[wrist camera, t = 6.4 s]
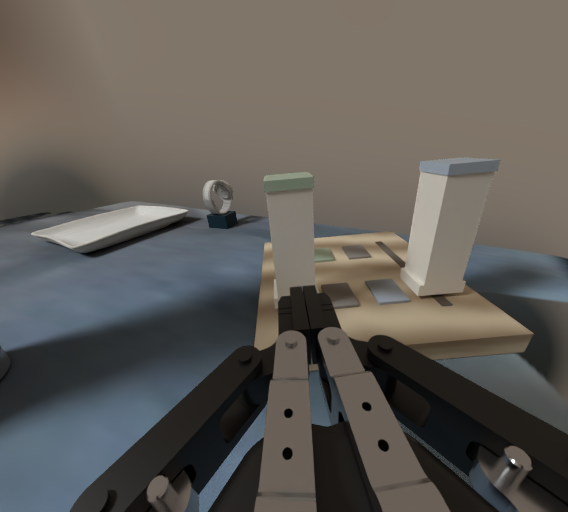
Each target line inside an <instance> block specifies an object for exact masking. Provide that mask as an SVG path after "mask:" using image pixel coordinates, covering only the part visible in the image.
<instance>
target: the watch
mask: <svg viewBox="0 0 568 512" xmlns="http://www.w3.org/2000/svg"><path fill="white" fill-rule="evenodd" d="M212 187H213V191H215V193H216V194H217V195H218V196H220V197H221V199H222V200H224V203H223V207H222V209H221V210H220V211H219V209H218V208H217V207H216V205H215V203H214V201H213V200H212V199H211V195H209V194H211V191H210V190H211V189H212ZM203 194H204V195H203V199H204V203H205V205H206V207H207V208H208V210H209V211H210V212H211V214H209V215H207V219H208V223H209V227H210V228H223V229H228V228H230V227H232V226H233V225H235V224H237V218H236V212H235V211H229V209H230V207H231V203H232V199H233V195H232V194H233V189H232V187H231V186H230V185H229V184H228V183H227V182H225V181H222V180H211V181H208V182H207V183H206V184H205V185H204V188H203Z"/></svg>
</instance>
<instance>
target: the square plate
mask: <svg viewBox="0 0 568 512" xmlns="http://www.w3.org/2000/svg"><path fill="white" fill-rule="evenodd" d="M188 212H189V210H185V209H177V208H169V207H159V206H135V207H130V208H126V209H121V210H117V211H112V212H107V213H103V214H99V215H95V216H91V217H87V218H83V219H79V220H75V221H72V222H68V223H65V224H61V225H58V226H54V227H50V228H47V229H43V230H39V231H36V232H33V233H31V234H32V235H33V236H37V237H39V238H41V239H43V240H46V241H49V242H53V243H56V244H59V245H62V246H65V247H67V248H69V249H71V250H74V251H76V252H80V253H88V252H92V251H95V250H98V249H102V248H106V247H109V246H112V245H115V244H118V243H121V242H124V241H127V240H129V239H132V238H135V237H138V236H141V235H144V234H147V233H149V232H152V231H155V230H158V229H161V228H164V227H166V226H168V225H170V224H172V223H175V222H177V221H179V220H181V219H182V218H184V217H185V216H186V214H187V213H188Z"/></svg>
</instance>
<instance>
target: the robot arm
mask: <svg viewBox="0 0 568 512" xmlns="http://www.w3.org/2000/svg"><path fill="white" fill-rule="evenodd" d="M302 289H303V290H302ZM311 358H312V364H318V369H319V381H320V385H321V388H322V392H323V396H324V399H325V403H326V407H327V410H328V414H329V418H330V423H331V426H329V427H325V426H320V425H315V424H311V411H310V395H309V379H308V378H309V365H311ZM10 362H11V361H10V358H9V356H8V355H7V354H6V353H5V352H4V350H3V349H2V348H1V346H0V380H1V378H2V377H3V376H4V375H5V373H6V372H7V370H8V369H9V366H10ZM267 401H268V404H267ZM266 404H267V414H266V423H265V433H264V438H262V439H261V440H260V441H258V442H257V443H256V444H255V445H254V446H253V447H252V448H251V449H250V450H249V451H248V452H247V453H246V455H245V456H244V458H243V459H242V461H241V462H240V464H239V465H238V467H237V468H236V470H235V471H234V473H233V474H232V476H231V477H230V479H229V480H228V482H227V483H226V485H225V486H224V488H223V489H222V491H221V492H220V494H219V495H218V497H217V499H216V500H215V502H214V503H213V505H212V506H211V508H210V509H209V511H208V512H568V435H567V434H566V433H564V432H562V431H560V430H558V429H557V428H555V427H553V426H551V425H549V424H548V423H546V422H544V421H542V420H540V419H538V418H537V417H535V416H533V415H531V414H529V413H528V412H526V411H524V410H522V409H520V408H519V407H517V406H515V405H513V404H511V403H510V402H508V401H506V400H504V399H502V398H500V397H499V396H497V395H495V394H493V393H491V392H490V391H488V390H486V389H484V388H482V387H481V386H479V385H477V384H475V383H473V382H471V381H470V380H468V379H466V378H464V377H462V376H461V375H459V374H457V373H455V372H453V371H452V370H450V369H448V368H446V367H444V366H442V365H441V364H439V363H437V362H435V361H433V360H432V359H430V358H428V357H426V356H424V355H423V354H421V353H419V352H417V351H415V350H413V349H412V348H410V347H408V346H406V345H404V344H403V343H401V342H399V341H397V340H395V339H394V338H392V337H389V336H386V335H375V336H373V337H371V338H370V339H369V341H368V342H366V341H360V340H355V339H353V338H350V337H349V336H348V335H347V334H346V333H345V332H344V331H343V330H342V329H341V326H340V323H339V321H338V318H337V315H336V312H335V310H334V307H333V305H332V301H331V299H330V297H329V296H328V295H327V294H326V293H317V291H316V287H315V285H308V286H297V287H290V296H281V298H280V300H279V301H278V338H277V340H276V342H275V343H274V344H273V345H272V346H270V347H268V348H266V349H263V350H260V351H259V350H258V349H257V348H256V347H254V346H243V347H240V348H238V349H237V350H235V351H234V352H233V353H232V354H231V355H230V356H229V357H228V358H227V359H226V360H224V361H223V362H222V363H221V364H220V365H219V366H218V367H217V368H216V369H215V370H214V371H213V372H212V373H210V374H209V375H208V376H207V377H206V378H205V379H204V380H203V381H202V382H201V383H200V384H199V385H198V386H196V387H195V388H194V389H193V390H192V391H191V392H190V393H189V394H188V395H187V396H186V397H185V398H184V399H182V400H181V401H180V402H179V403H178V404H177V405H176V406H175V407H174V408H173V409H172V410H171V411H170V412H168V413H167V414H166V415H165V416H164V417H163V418H162V419H161V420H160V421H159V422H158V423H157V424H156V425H155V426H153V427H152V428H151V429H150V430H149V431H148V432H147V433H146V434H145V435H144V436H143V437H142V438H141V439H139V440H138V441H137V442H136V443H135V444H134V445H133V446H132V447H131V448H130V449H129V450H128V451H127V452H125V453H124V454H123V455H122V456H121V457H120V458H119V459H118V460H117V461H116V462H115V463H114V464H113V465H111V466H110V467H109V468H108V469H107V470H106V471H105V472H104V473H103V474H102V475H101V476H100V477H99V478H97V479H96V480H95V481H94V482H93V483H92V484H91V485H90V486H89V487H88V488H87V489H86V490H85V491H84V492H83V493H82V494H81V495H80V497H79V498H78V499H77V501H76V502H75V504H74V505H73V507H72V508H71V510H70V512H199V497H198V495H199V494H200V492H201V491H202V490H203V488H204V487H205V486H206V484H207V483H208V482H209V480H210V479H211V478H212V476H213V475H214V474H215V472H216V471H217V470H218V468H219V467H220V466H221V464H222V463H223V462H224V460H225V459H226V458H227V456H228V455H229V454H230V452H231V451H232V450H233V448H234V447H235V446H236V444H237V443H238V442H239V440H240V439H241V438H242V436H243V435H244V434H245V432H246V431H247V430H248V428H249V427H250V426H251V424H252V423H253V422H254V420H255V419H256V418H257V416H258V415H259V414H260V412H261V411H262V410H263V408H264V407H265V406H266ZM397 420H399V421H400V422H401V423H402V424H404V425H405V426H406V427H407V428H409V429H410V430H411V431H412V432H414V433H415V434H416V435H417V436H419V437H420V438H421V439H422V440H424V441H425V442H426V443H427V444H429V445H430V446H431V447H432V448H434V449H435V450H436V451H437V452H439V453H440V454H441V455H442V456H444V457H445V458H446V459H447V460H449V461H450V462H451V463H452V464H454V465H455V466H456V467H457V468H459V469H460V470H461V471H462V472H464V473H465V474H466V475H467V476H469V478H470V481H471V484H472V486H473V488H474V489H473V488H472V487H471V486H469V485H468V484H467V483H466V482H465V481H464V480H462V479H461V478H460V477H459V476H458V475H457V474H455V473H454V472H453V471H452V470H451V469H450V468H448V467H447V466H446V465H445V464H444V463H443V462H441V461H440V460H439V459H438V458H437V457H436V456H434V455H433V454H432V453H431V452H430V451H429V450H427V449H426V448H425V447H424V446H423V445H422V444H420V443H419V442H418V441H417V440H415V439H414V438H413V437H411V436H410V435H408V434H407V433H405V432H403V431H402V429H401V427H400V425H399V423H398V421H397Z"/></svg>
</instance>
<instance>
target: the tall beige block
mask: <svg viewBox="0 0 568 512" xmlns="http://www.w3.org/2000/svg"><path fill="white" fill-rule="evenodd" d="M263 183H264V192H266V198H267V206H268V214H269V224H270V233H271V242H272V250H273V259H274V268H275V277H276V279H274V304H275V309H278V301H279V300H280V298H281V296H290V287H297V286H308V285H315V287H316V291H317V293H319V291H318V288H317V284H316V281H315V258H314V222H313V188H314V177H313V176H312V175H311V174H309V173H308V172H300V173H289V174H278V175H269V176H268V175H267V176H265V177H264V180H263ZM302 290H303V289H302Z"/></svg>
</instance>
